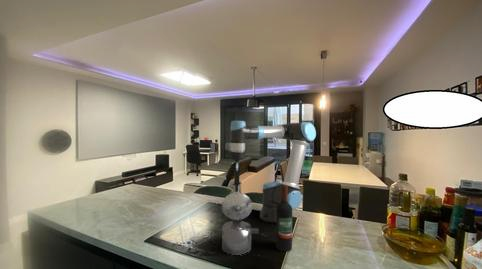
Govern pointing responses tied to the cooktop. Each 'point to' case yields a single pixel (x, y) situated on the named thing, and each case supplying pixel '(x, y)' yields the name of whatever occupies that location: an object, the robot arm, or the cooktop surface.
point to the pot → (236, 237)
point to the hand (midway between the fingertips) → (236, 197)
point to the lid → (237, 206)
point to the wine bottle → (284, 223)
